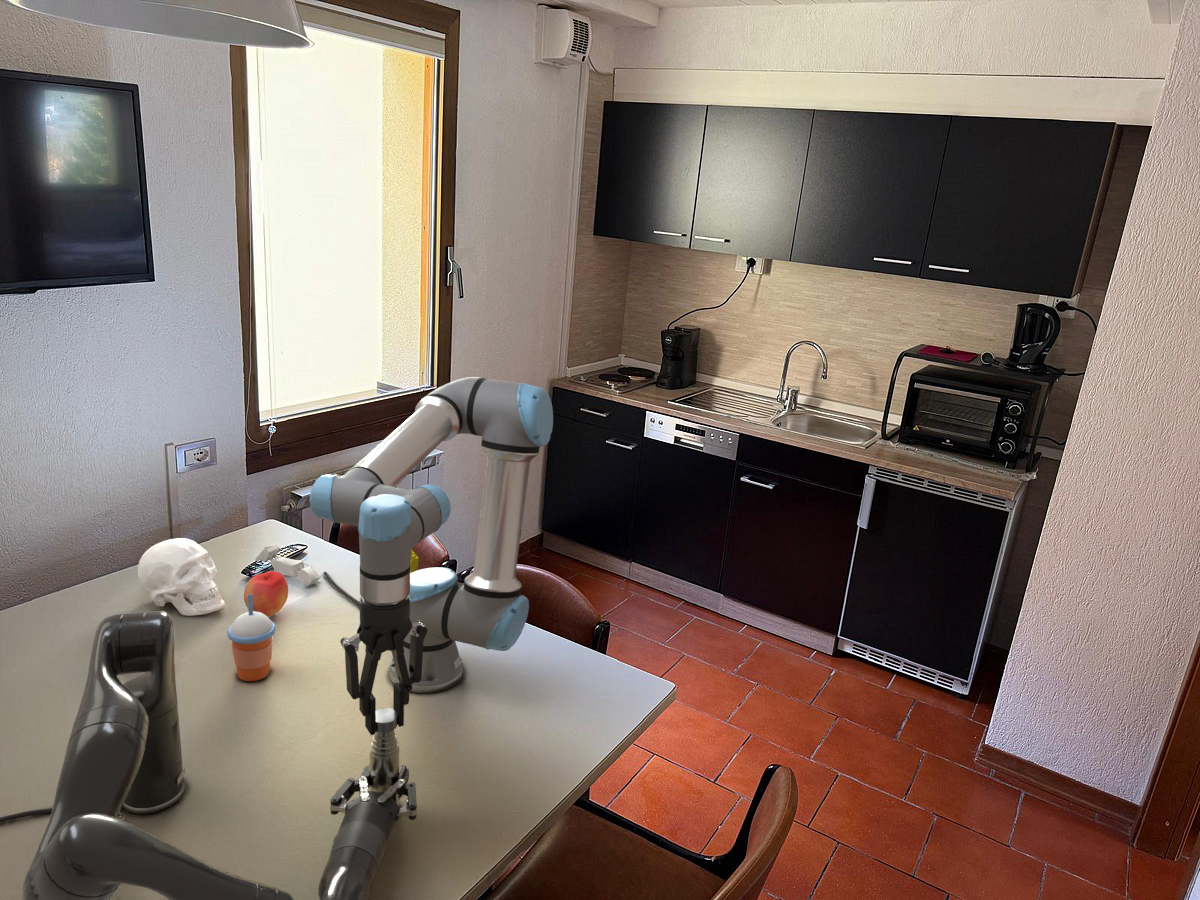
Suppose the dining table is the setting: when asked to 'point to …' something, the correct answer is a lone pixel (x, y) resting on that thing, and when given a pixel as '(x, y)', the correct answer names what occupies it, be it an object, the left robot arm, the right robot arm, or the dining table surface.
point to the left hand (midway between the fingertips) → (388, 768)
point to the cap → (386, 720)
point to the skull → (180, 576)
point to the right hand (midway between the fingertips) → (384, 725)
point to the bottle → (384, 761)
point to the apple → (267, 592)
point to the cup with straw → (252, 643)
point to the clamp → (288, 565)
